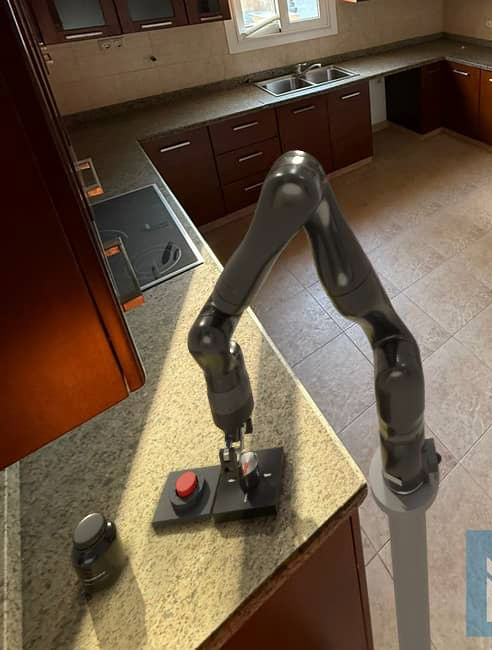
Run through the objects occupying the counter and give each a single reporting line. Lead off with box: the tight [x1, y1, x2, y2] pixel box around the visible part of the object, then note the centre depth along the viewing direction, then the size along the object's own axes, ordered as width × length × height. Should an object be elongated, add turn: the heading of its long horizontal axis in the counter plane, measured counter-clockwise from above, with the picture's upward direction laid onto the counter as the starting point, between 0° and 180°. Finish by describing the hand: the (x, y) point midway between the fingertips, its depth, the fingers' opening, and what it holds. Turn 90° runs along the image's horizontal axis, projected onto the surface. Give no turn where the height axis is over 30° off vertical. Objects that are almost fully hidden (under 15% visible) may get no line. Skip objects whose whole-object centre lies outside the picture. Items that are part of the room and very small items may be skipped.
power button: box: [176, 472, 197, 497], centre depth 87 cm, size 4×4×2 cm
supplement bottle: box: [69, 511, 127, 595], centre depth 76 cm, size 7×7×12 cm
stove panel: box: [212, 446, 286, 525], centre depth 89 cm, size 12×11×3 cm
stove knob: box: [238, 451, 261, 490], centre depth 88 cm, size 4×4×5 cm
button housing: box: [150, 464, 223, 529], centre depth 88 cm, size 11×9×4 cm
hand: (243, 453), depth 86 cm, fingers open, 8 cm apart
